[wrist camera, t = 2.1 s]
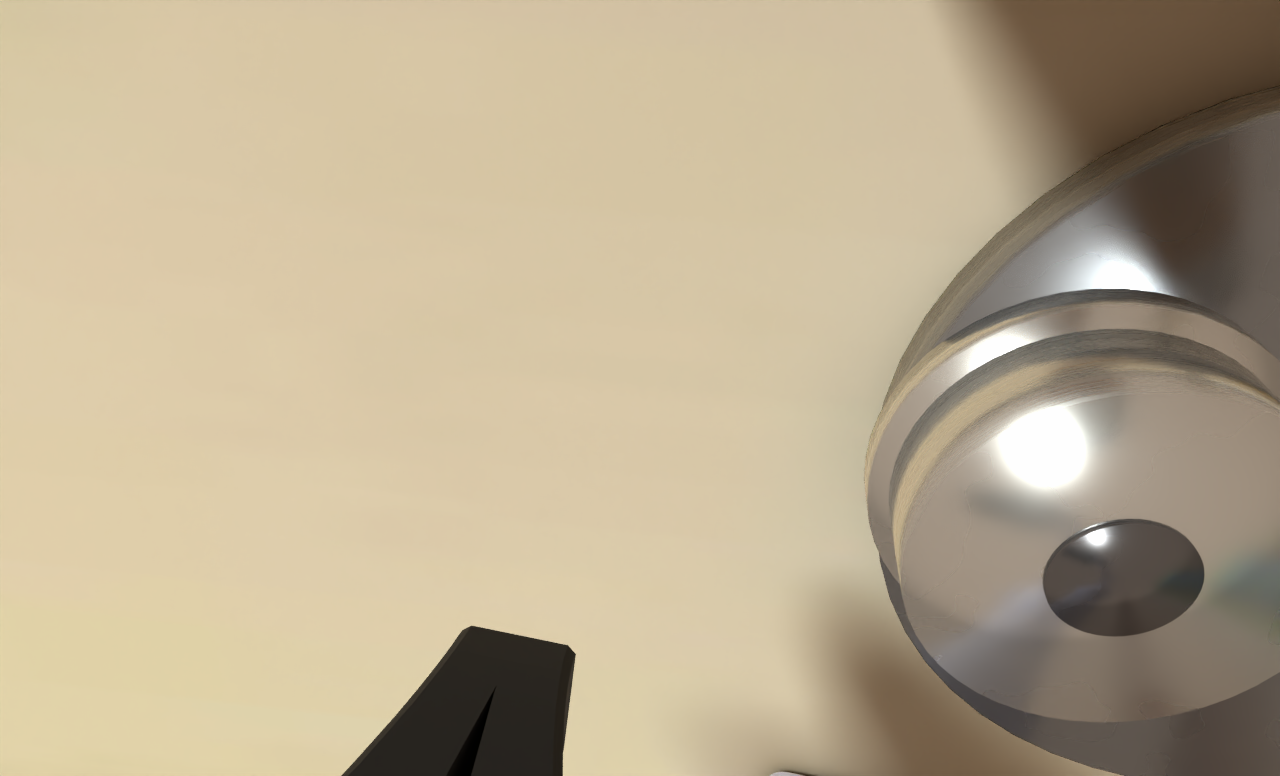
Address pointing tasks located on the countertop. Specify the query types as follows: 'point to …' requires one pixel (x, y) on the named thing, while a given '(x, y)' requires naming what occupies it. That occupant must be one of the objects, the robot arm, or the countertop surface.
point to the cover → (1088, 505)
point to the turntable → (1168, 264)
